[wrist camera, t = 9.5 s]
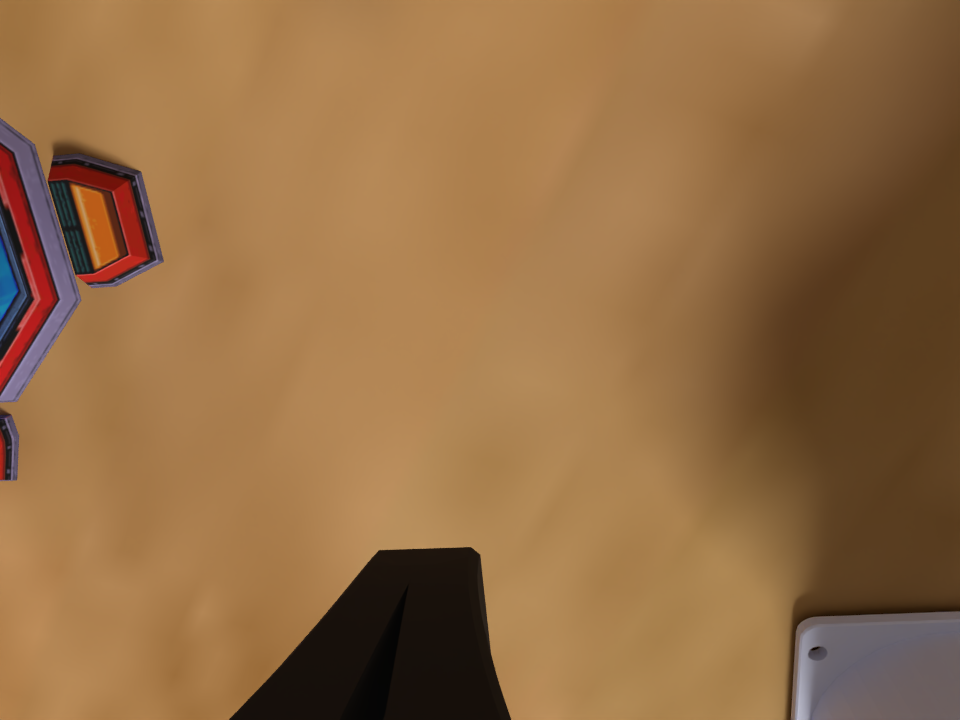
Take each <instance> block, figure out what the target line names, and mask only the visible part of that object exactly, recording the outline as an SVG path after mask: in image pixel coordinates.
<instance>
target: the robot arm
mask: <svg viewBox="0 0 960 720" xmlns="http://www.w3.org/2000/svg"><path fill="white" fill-rule="evenodd" d="M817 646H820V648H818V649H817V650H813V651H811V650H810V649H812V648H813V647H817ZM229 720H511V718H510V715H509V712H508V709H507V706H506V703H505V700H504V697H503V694H502V691H501V688H500V685H499V681H498V678H497V675H496V671H495V668H494V664H493V660H492V656H491V650H490V641H489V632H488V623H487V614H486V604H485V595H484V586H483V577H482V568H481V558H480V554H479V553H477V552H476V551H475V550H474V549H472V548H471V547H464V548H434V549H404V550H379V551H378V552H377V553H376V554H375V555H374V556H373V557H372V559H371V560H370V561H369V562H368V563H367V565H366V566H365V567H364V568H363V569H362V570H361V572H360V573H359V574H358V575H357V577H356V578H355V579H354V580H353V581H352V583H351V584H350V585H349V586H348V588H347V589H346V590H345V591H344V592H343V594H342V595H341V596H340V597H339V598H338V600H337V601H336V602H335V603H334V604H333V606H332V607H331V608H330V609H329V610H328V612H327V613H326V614H325V615H324V616H323V618H322V619H321V620H320V621H319V622H318V624H317V625H316V626H315V627H314V628H313V629H312V630H311V632H310V633H309V634H308V635H307V636H306V637H305V638H304V640H303V641H302V642H301V643H300V644H299V645H298V646H297V647H296V649H295V650H294V651H293V652H292V653H291V654H290V655H289V657H288V658H287V659H286V660H285V661H284V662H283V663H282V665H281V666H280V667H279V668H278V669H277V670H276V671H275V672H274V673H273V674H272V675H271V677H270V678H269V679H268V680H267V681H266V682H265V683H264V684H263V685H262V686H261V687H260V688H259V689H258V690H257V691H256V692H255V693H254V694H253V695H252V696H251V697H250V698H249V699H248V701H247V702H246V703H245V704H244V705H243V706H242V707H241V708H240V709H239V710H238V711H237V712H236V713H235V714H234V715H233V716H232V717H231V718H230V719H229ZM791 720H960V611H956V612H929V613H902V614H875V615H849V616H822V617H811V618H807V619H805V620H804V621H802V622H801V623H800V624H799V625H798V627H797V630H796V641H795V657H794V674H793V691H792V708H791Z"/></svg>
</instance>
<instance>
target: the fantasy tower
mask: <svg viewBox="0 0 960 720" xmlns="http://www.w3.org/2000/svg"><path fill="white" fill-rule="evenodd" d="M48 184H49V187H50V191H51V194H52V198H53V201H54V204H55V208H56V211H57V214H58V218H59V221H60V224H61V228H62V231H63V234H64V238H65V241H66V244H67V248H68V251H69V254H70V258H71V261H72V264H73V268H74V271H75V274H76V276H77V277H79V278H80V279H81V280H83V281H84V282H85V283H86V284H88V285H89V286H90V287H91V288H99V287H114V286H118V285H120V284H122V283H124V282H126V281H127V280H129V279H131V278H133V277H135V276H137V275H139V274H141V273H143V272H145V271H147V270H149V269H150V268H152V267H154V266H156V265H158V264H160V263H162V262H164V260H163V256H162V252H161V248H160V244H159V240H158V237H157V233H156V229H155V225H154V221H153V217H152V213H151V209H150V205H149V201H148V197H147V193H146V189H145V185H144V181H143V177H142V173H141V172H140V171H137V170H133V169H130V168H127V167H123V166H120V165H116V164H113V163H110V162H106V161H103V160H100V159H96V158H93V157H89V156H86V155H83V154H80V153H79V154H68V155H57V156H53V160H52V164H51V169H50V173H49V178H48ZM80 301H81V297H80V294H79V290H78V287H77V284H76V280H75V277H74V274H73V270H72V267H71V264H70V260H69V257H68V254H67V250H66V247H65V244H64V240H63V237H62V234H61V230H60V227H59V224H58V220H57V217H56V214H55V210H54V207H53V204H52V200H51V197H50V194H49V190H48V187H47V184H46V180H45V177H44V174H43V170H42V167H41V164H40V161H39V157H38V154H37V151H36V147H35V144H33V143H32V142H31V141H29V140H28V139H27V138H26V137H24V136H23V135H22V134H20V133H19V132H18V131H16V130H15V129H14V128H12V127H11V126H10V125H9V124H7V123H6V122H5V121H3V120H2V119H1V118H0V402H17V401H18V399H19V397H20V396H21V394H22V393H23V391H24V390H25V388H26V386H27V385H28V383H29V382H30V380H31V379H32V377H33V375H34V374H35V372H36V371H37V369H38V368H39V366H40V364H41V363H42V361H43V360H44V358H45V356H46V355H47V353H48V352H49V350H50V349H51V347H52V345H53V344H54V342H55V341H56V339H57V338H58V336H59V334H60V333H61V331H62V330H63V328H64V327H65V325H66V323H67V322H68V320H69V319H70V317H71V316H72V314H73V312H74V311H75V309H76V308H77V306H78V305H79V303H80ZM18 447H19V435H18V432H17V429H16V426H15V423H14V421H13V418H12V415H0V481H12V480H17V470H18Z"/></svg>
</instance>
